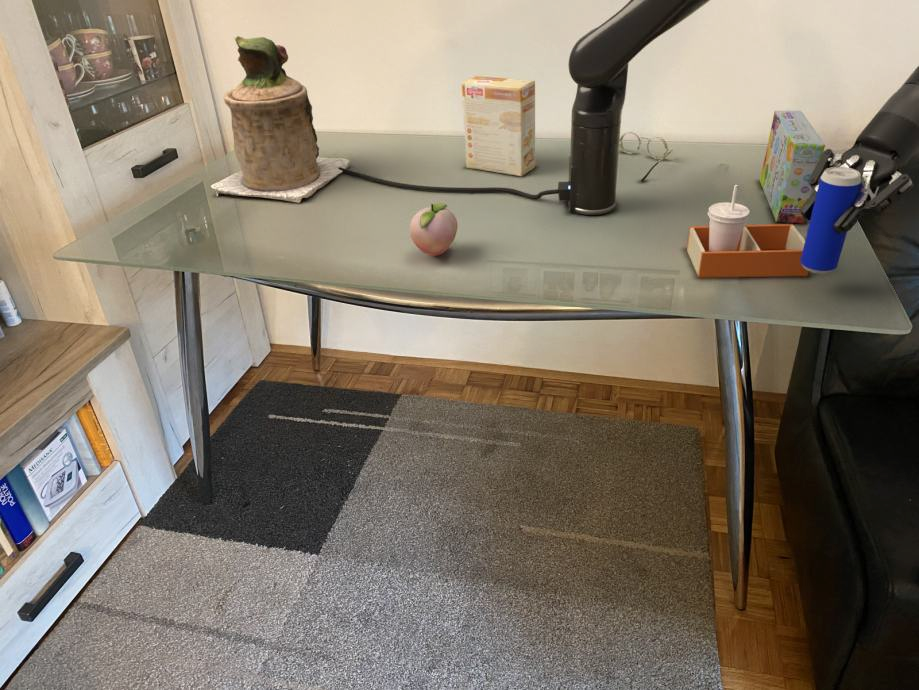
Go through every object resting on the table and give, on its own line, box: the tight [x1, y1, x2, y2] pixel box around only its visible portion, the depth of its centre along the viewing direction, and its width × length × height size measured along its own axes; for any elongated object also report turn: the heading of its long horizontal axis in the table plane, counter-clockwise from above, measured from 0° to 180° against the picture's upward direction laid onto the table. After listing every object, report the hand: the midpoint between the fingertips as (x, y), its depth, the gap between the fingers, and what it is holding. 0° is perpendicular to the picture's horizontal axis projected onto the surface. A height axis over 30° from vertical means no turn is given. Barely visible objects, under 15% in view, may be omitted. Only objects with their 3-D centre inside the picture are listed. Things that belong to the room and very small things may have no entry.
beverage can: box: [800, 166, 861, 274], centre depth 101 cm, size 5×5×15 cm
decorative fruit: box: [409, 202, 459, 256], centre depth 123 cm, size 9×8×10 cm
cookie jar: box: [210, 35, 351, 204], centre depth 153 cm, size 25×25×32 cm
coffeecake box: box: [461, 75, 536, 177], centre depth 155 cm, size 15×7×20 cm, turn 58°
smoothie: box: [707, 184, 751, 252], centre depth 113 cm, size 6×6×14 cm
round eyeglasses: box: [619, 131, 673, 182], centre depth 156 cm, size 17×15×5 cm
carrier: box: [685, 223, 809, 279], centre depth 115 cm, size 17×10×4 cm, turn 86°
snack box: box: [759, 110, 826, 224], centre depth 132 cm, size 21×6×15 cm, turn 168°
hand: (820, 223), depth 100 cm, fingers closed on beverage can, 5 cm apart
